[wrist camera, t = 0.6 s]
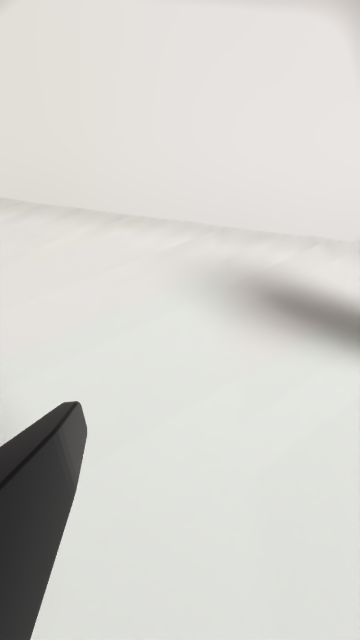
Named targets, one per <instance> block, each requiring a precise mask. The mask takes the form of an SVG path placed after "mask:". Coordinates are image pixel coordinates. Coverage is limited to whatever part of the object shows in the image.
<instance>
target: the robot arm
mask: <svg viewBox="0 0 360 640" xmlns="http://www.w3.org/2000/svg"><path fill="white" fill-rule="evenodd" d="M86 438H87V425H86V422H85V418H84V414H83V410H82V406H81V404H80V403H79V402H78V401H74V402H64V403H62V404H60V405H59V406H58V407H56V408H55V409H53V410H52V411H51V412H49V413H48V414H46V415H45V416H43V417H42V418H41V419H39V420H38V421H36V422H35V423H34V424H32V425H31V426H29V427H28V428H26V429H25V430H24V431H22V432H21V433H19V434H18V435H17V436H15V437H14V438H12V439H11V440H9V441H8V442H7V443H5V444H4V445H2V446H1V447H0V640H30V639H31V635H32V632H33V629H34V626H35V623H36V619H37V616H38V613H39V610H40V606H41V603H42V600H43V597H44V593H45V590H46V587H47V584H48V581H49V577H50V574H51V571H52V568H53V564H54V561H55V558H56V555H57V552H58V548H59V545H60V542H61V539H62V535H63V532H64V529H65V526H66V522H67V519H68V516H69V513H70V510H71V506H72V503H73V500H74V496H75V493H76V489H77V484H78V479H79V474H80V469H81V464H82V459H83V453H84V448H85V443H86Z"/></svg>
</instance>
